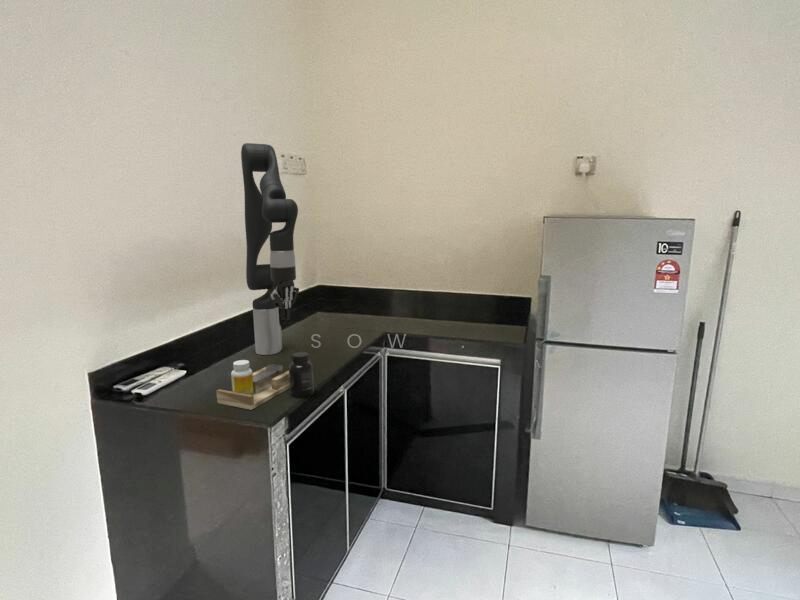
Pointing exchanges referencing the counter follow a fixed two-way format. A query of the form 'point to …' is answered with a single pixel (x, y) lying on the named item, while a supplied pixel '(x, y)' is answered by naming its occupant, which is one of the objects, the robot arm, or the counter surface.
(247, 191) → the robot arm
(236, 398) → the cradle
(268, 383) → the shaft
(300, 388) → the supplement bottle
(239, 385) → the supplement bottle
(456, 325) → the counter surface
